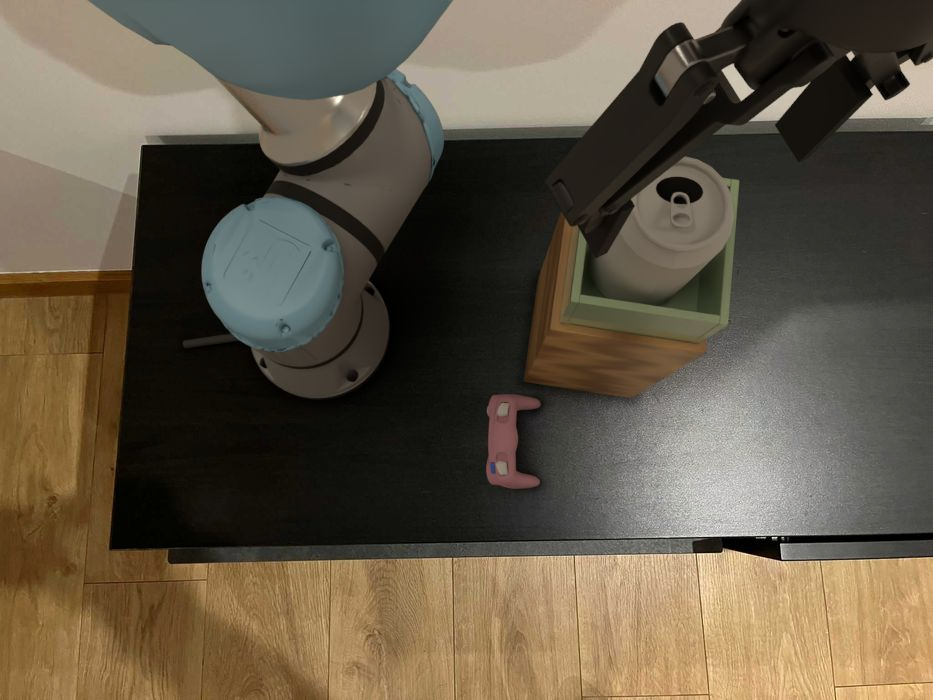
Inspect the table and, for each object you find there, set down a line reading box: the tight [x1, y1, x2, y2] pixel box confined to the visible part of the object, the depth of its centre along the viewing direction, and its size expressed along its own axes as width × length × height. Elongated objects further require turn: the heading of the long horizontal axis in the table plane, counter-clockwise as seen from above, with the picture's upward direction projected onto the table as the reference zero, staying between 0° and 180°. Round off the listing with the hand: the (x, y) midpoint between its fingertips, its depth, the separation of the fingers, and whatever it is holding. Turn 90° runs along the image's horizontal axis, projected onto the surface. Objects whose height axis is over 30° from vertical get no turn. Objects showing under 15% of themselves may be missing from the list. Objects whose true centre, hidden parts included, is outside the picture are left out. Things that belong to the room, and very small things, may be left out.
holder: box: [559, 177, 740, 344], centre depth 51 cm, size 11×11×6 cm
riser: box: [523, 210, 708, 399], centre depth 66 cm, size 12×12×24 cm
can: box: [588, 156, 734, 306], centre depth 48 cm, size 8×8×12 cm
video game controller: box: [485, 393, 542, 490], centre depth 73 cm, size 10×5×7 cm, turn 178°
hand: (692, 188), depth 41 cm, fingers open, 13 cm apart
